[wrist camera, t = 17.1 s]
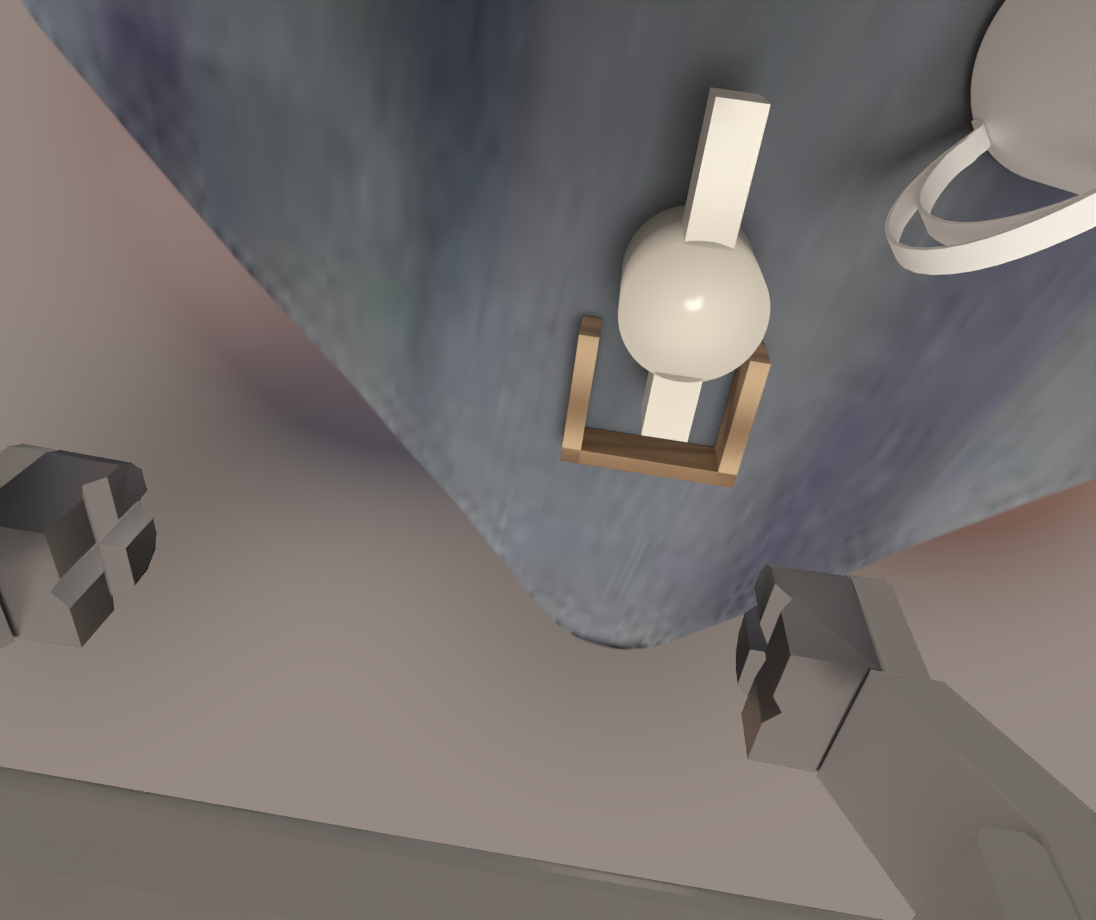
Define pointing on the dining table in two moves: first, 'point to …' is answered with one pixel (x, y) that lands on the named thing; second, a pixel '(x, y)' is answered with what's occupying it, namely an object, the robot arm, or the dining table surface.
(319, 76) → the dining table surface
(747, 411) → the cradle
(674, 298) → the white bar with bulge
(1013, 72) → the coffeepot
